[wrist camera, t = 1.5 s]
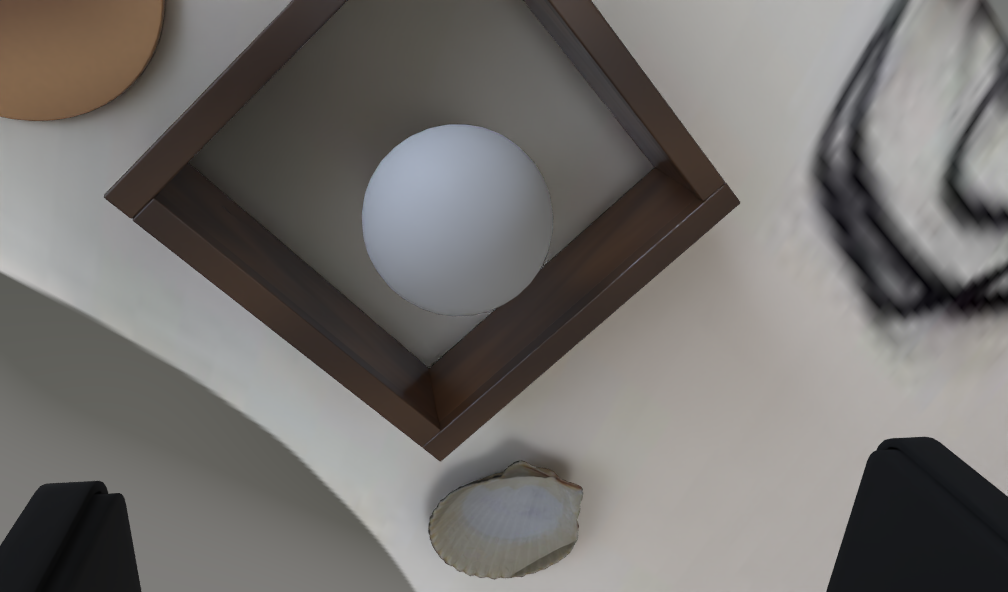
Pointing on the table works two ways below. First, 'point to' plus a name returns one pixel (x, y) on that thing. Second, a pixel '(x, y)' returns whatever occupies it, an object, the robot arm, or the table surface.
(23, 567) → the robot arm
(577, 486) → the seashell
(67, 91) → the coaster
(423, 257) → the lightbulb
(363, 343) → the wooden frame
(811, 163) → the table surface
